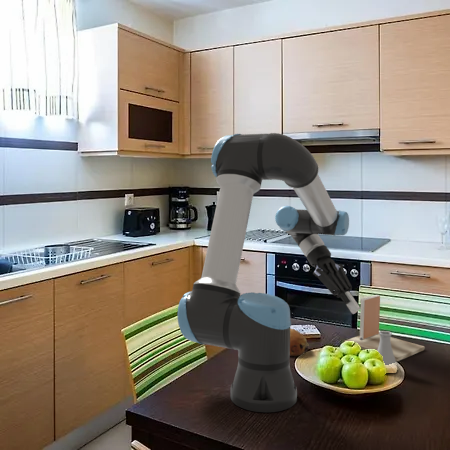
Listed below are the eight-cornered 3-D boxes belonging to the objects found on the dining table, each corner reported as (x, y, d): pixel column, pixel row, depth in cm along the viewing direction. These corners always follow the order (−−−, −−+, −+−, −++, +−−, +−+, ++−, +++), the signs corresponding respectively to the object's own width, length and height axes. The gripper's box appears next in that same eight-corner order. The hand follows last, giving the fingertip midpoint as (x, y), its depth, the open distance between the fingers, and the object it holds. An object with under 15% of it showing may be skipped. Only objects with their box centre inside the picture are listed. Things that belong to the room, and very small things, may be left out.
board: (397, 361, 140) (397, 357, 140) (343, 344, 154) (343, 340, 154) (424, 349, 149) (424, 346, 149) (371, 334, 163) (371, 331, 163)
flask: (395, 365, 138) (396, 328, 137) (401, 375, 131) (403, 337, 129) (367, 364, 138) (368, 327, 137) (372, 374, 131) (373, 336, 130)
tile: (363, 341, 152) (364, 299, 151) (359, 339, 153) (360, 299, 152) (379, 335, 157) (380, 295, 156) (375, 334, 158) (376, 294, 157)
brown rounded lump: (293, 355, 155) (285, 329, 157) (318, 349, 148) (309, 322, 149) (270, 363, 149) (262, 336, 151) (295, 357, 141) (286, 328, 143)
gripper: (321, 255, 176) (361, 313, 165) (296, 260, 168) (336, 321, 157) (334, 242, 171) (376, 301, 160) (308, 246, 163) (351, 308, 152)
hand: (356, 311), depth 159 cm, fingers closed
